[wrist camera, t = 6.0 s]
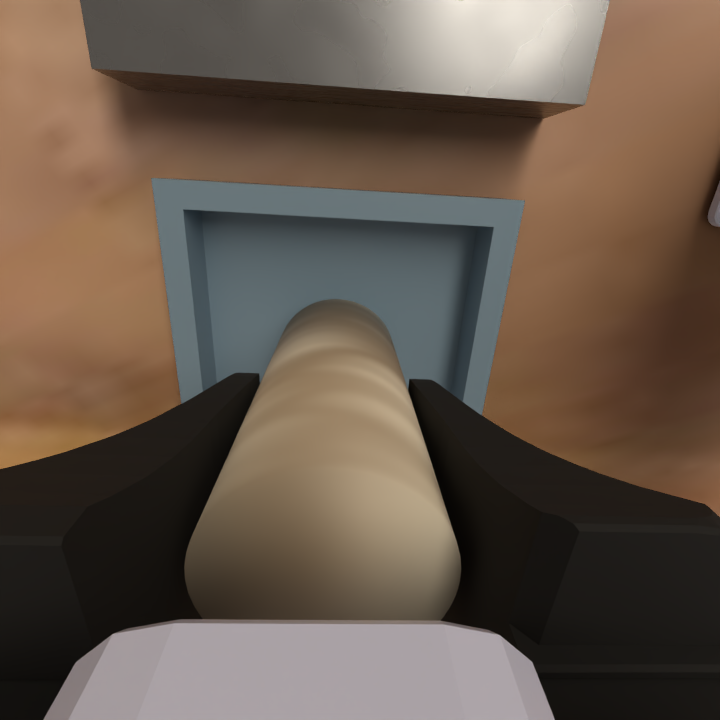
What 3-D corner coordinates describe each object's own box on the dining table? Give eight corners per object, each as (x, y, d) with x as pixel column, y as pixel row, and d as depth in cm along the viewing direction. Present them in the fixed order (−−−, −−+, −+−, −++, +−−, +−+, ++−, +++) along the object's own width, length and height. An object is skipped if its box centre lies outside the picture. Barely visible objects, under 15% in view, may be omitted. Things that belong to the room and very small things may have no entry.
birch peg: (398, 301, 14) (482, 472, 5) (388, 407, 15) (441, 668, 7) (277, 295, 13) (167, 464, 5) (280, 403, 15) (198, 669, 7)
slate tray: (499, 198, 14) (524, 200, 12) (453, 456, 19) (466, 489, 17) (179, 178, 14) (151, 178, 12) (209, 449, 18) (192, 483, 16)
